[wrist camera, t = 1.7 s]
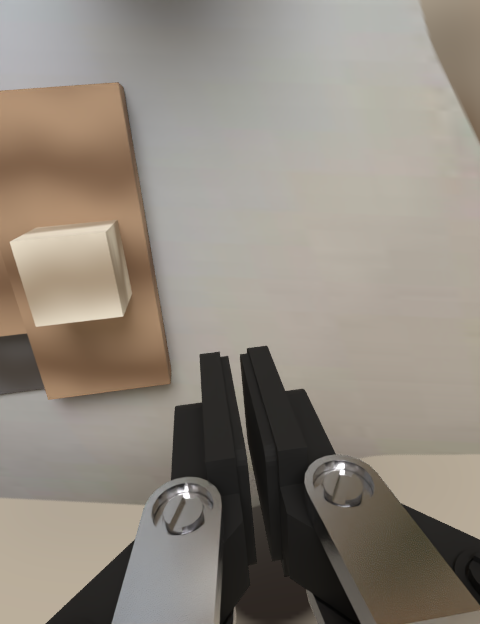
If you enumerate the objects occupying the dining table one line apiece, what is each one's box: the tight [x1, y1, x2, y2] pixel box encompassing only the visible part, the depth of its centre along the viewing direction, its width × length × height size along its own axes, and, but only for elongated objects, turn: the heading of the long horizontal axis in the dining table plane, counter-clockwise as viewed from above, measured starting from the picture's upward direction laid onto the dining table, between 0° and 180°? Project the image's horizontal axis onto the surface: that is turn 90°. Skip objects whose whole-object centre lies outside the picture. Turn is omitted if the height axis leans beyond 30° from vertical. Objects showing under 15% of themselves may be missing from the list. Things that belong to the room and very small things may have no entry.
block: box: [10, 220, 132, 327], centre depth 24 cm, size 5×5×4 cm
